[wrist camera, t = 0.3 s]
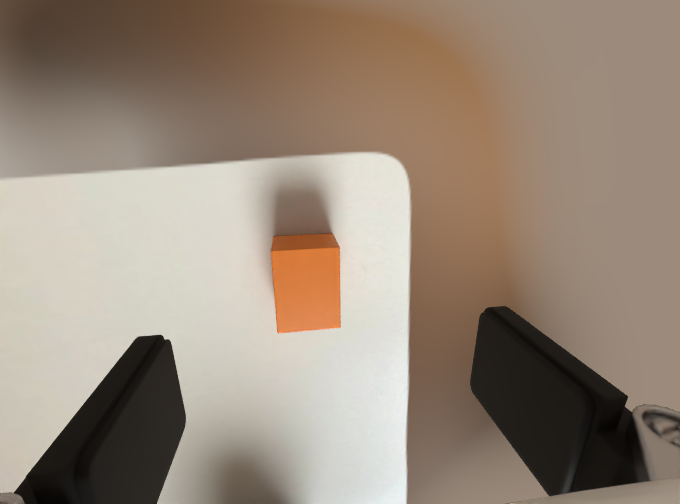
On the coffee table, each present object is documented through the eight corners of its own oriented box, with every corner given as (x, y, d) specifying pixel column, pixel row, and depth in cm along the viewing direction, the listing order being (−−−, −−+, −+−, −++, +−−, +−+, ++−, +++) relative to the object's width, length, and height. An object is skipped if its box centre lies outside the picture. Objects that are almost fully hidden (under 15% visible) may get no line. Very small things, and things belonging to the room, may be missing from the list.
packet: (279, 309, 26) (277, 333, 22) (273, 236, 24) (270, 250, 20) (334, 304, 26) (340, 327, 23) (332, 233, 24) (339, 246, 21)
